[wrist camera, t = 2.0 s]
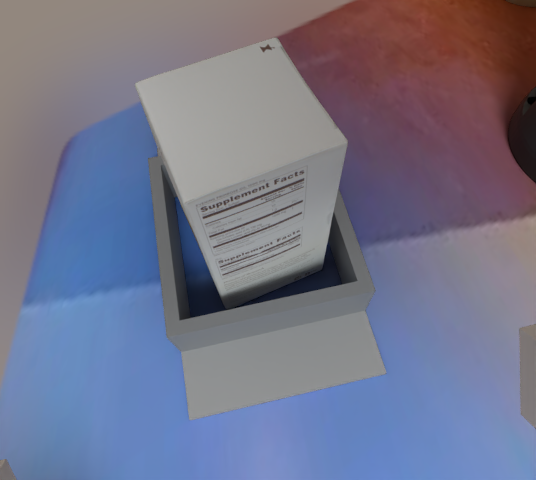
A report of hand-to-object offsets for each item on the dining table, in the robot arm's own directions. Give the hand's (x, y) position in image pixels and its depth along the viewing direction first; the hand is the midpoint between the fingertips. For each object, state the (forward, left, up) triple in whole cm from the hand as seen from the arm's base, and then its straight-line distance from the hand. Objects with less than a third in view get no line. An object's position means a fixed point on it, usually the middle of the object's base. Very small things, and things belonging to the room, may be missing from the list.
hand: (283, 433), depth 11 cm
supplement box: (-1, -16, -22) cm, 27 cm away
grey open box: (-1, -16, -22) cm, 27 cm away
